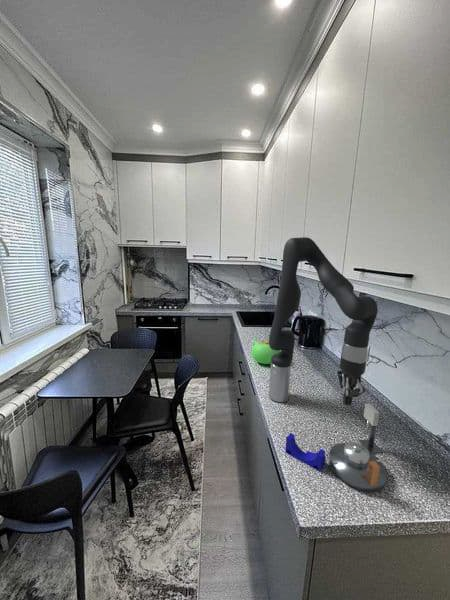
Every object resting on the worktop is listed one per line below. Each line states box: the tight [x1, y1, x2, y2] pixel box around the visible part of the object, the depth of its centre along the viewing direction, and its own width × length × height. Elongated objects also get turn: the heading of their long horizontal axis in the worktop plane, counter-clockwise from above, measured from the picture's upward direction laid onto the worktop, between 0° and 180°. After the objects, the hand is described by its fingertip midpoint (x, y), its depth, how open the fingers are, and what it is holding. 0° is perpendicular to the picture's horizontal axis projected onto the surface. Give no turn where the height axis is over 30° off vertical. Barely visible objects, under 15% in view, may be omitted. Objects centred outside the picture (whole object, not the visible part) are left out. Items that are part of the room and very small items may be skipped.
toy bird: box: [251, 339, 281, 365], centre depth 156 cm, size 18×17×15 cm
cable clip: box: [284, 432, 327, 473], centre depth 83 cm, size 12×4×6 cm, turn 49°
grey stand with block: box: [358, 403, 384, 454], centre depth 87 cm, size 6×5×16 cm
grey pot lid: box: [328, 442, 388, 492], centre depth 78 cm, size 16×16×8 cm
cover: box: [343, 441, 370, 470], centre depth 78 cm, size 7×7×5 cm
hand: (346, 404), depth 84 cm, fingers closed
